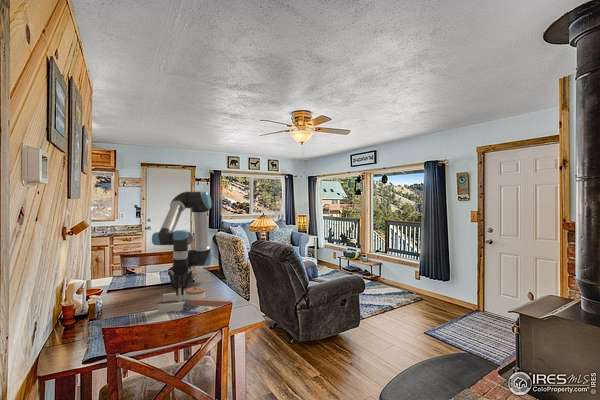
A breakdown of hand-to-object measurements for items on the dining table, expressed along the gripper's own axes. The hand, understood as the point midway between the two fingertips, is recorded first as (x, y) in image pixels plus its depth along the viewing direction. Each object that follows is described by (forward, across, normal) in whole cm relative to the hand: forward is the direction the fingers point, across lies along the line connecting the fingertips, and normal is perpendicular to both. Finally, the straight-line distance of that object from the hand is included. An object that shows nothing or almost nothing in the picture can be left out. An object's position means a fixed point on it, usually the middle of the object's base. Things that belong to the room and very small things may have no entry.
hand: (179, 301), depth 167 cm
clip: (-1, +15, -14) cm, 20 cm away
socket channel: (+2, -3, 0) cm, 3 cm away
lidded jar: (+2, +8, 0) cm, 8 cm away
